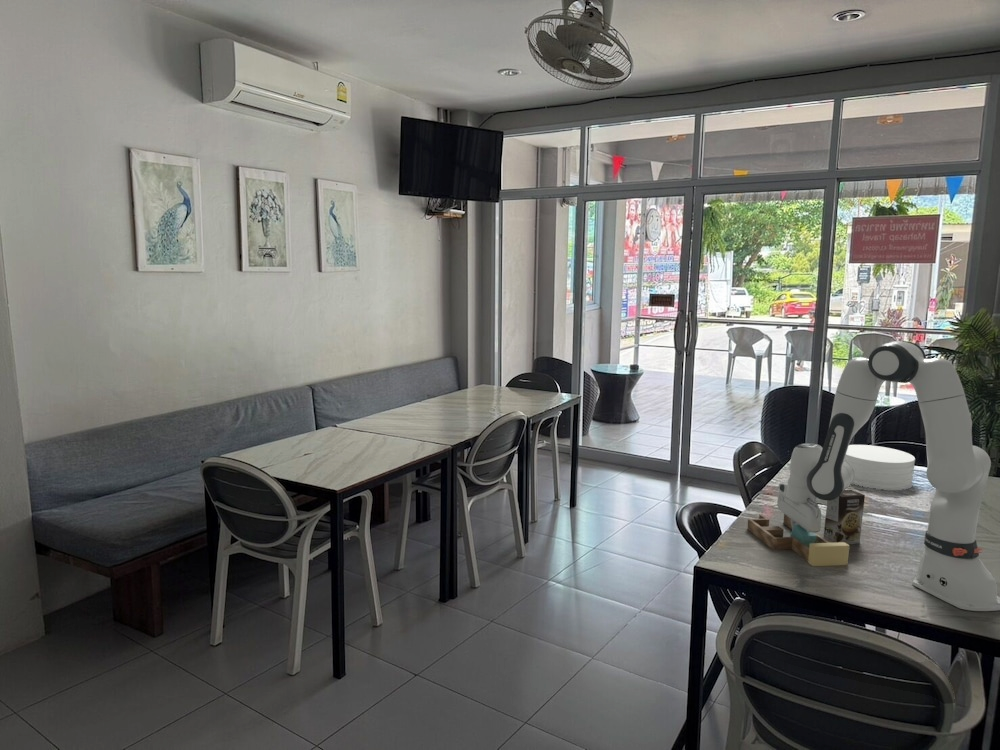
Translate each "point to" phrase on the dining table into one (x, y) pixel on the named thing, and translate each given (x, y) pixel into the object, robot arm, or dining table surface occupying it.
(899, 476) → the plate stack
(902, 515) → the dining table surface
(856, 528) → the coffee box
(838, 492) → the robot arm
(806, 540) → the block
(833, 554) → the bumper
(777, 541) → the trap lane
